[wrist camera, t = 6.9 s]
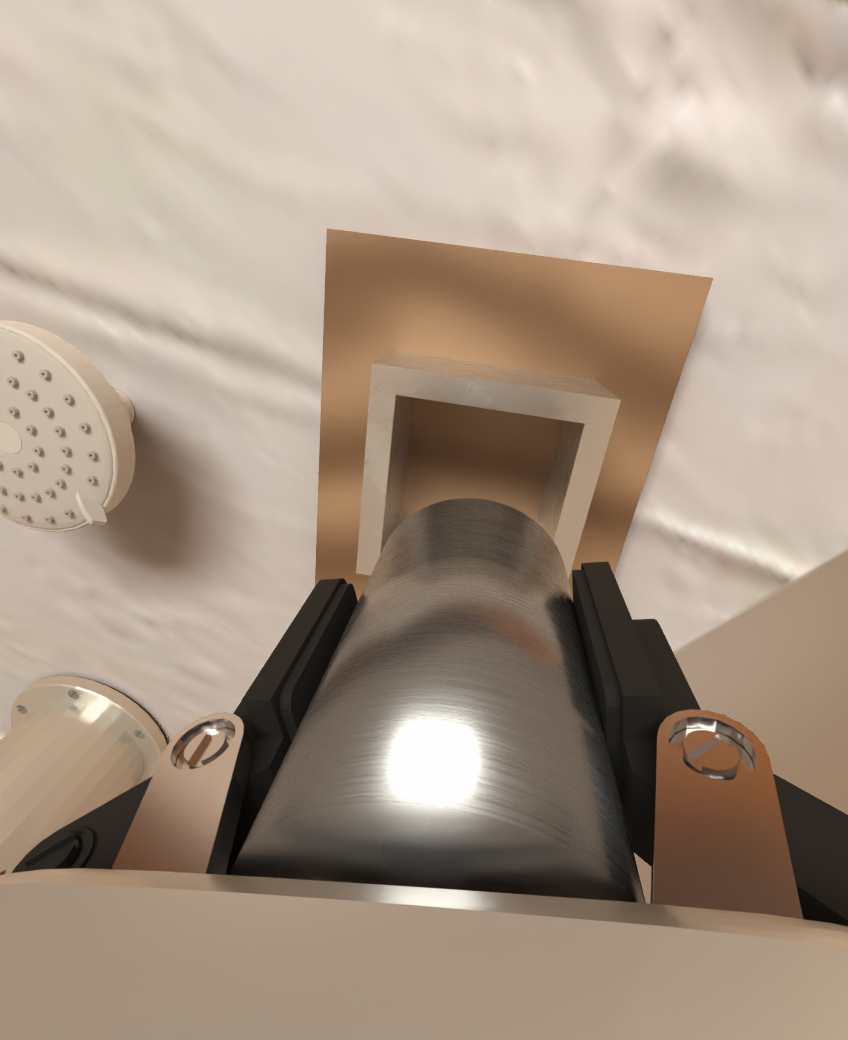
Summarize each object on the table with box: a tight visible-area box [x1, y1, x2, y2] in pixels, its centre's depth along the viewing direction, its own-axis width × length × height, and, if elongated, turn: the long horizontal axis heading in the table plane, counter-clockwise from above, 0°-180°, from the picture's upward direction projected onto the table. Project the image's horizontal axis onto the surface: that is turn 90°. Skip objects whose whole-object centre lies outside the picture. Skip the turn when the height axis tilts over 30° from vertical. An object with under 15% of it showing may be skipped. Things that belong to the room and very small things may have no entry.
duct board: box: [315, 229, 713, 601], centre depth 23 cm, size 20×16×6 cm
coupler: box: [230, 498, 645, 903], centre depth 9 cm, size 5×5×8 cm
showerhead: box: [0, 320, 135, 532], centre depth 24 cm, size 9×7×10 cm
